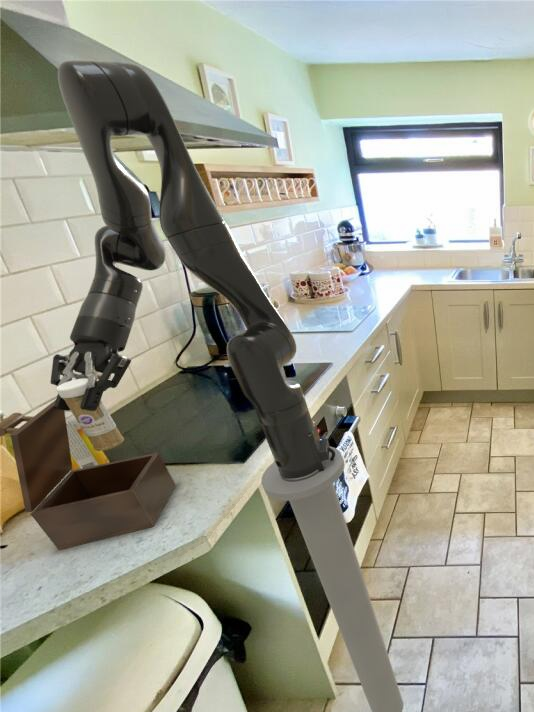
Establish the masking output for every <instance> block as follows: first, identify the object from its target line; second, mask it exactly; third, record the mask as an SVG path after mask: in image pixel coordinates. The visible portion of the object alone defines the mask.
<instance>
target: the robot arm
mask: <svg viewBox="0 0 534 712" xmlns="http://www.w3.org/2000/svg"><path fill="white" fill-rule="evenodd" d="M58 66H59V67H58V69H57V81H58V82H57V83H58V86H59V91H60V94H61V97H62V101H63V103H64V106H65V109H66V111H67V114H68V116H69V120H70V122H71V124H72V127H73V129H74V132H75V135H76V137H77V140H78V143H79V145H80V148H81V149H82V152H83V155H84V157H85V160H86V162H87V164H88V167H89V169H90V172H91V175H92V177H93V179H94V183H95V188H96V192H97V197H98V204H99V210H100V215H101V218H102V221H103V222H104V224H105V225H103V226H101V227H100V228H99V229H98V230H97V231H96V232H95V235H94V252H95V269H94V276H93V279H92V282H91V284H90V287H89V290H88V292H87V295H86V297H85V299H84V301H82V304H81V306H80V309H79V311H78V314H77V316H76V319H75V322H74V325H73V328H72V330H71V332H70V335H69V339H70V341H71V342H72V343H73V344H74V346H73V348H72V349H71V351H70V352H69V353H68V354H66V355H62V354H58V353H55V355H54V356H53V358H52V367H51V375H50V382H49V383H50V384H51V385H54V386H56V387H58V386H59V385H61V384H63V383H66V382H68V381H72V380H73V379H74V380H76V379H82V378H87V379H88V387H89V388H86V390H85V393H84V396H83V399H82V402H81V405H80V408H81V409H83V410H88V411H95V410H96V409H97V407H98V406H99V403H100V400H101V401H102V397H103V394H104V392H106V391H107V390H108V389H110V388H111V389H116V388H117V387H118V385H119V384H120V382H121V380H122V378H123V377H124V375H125V374H126V371H127V370H128V368H129V367H130V364H131V363H132V359H131V358H130V357H128V356H125V355H122V354H119V353H121V352H123V351H125V349H126V346H127V344H128V340H129V337H130V334H131V331H132V328H133V325H134V321H135V319H136V311H137V308H138V304H139V301H140V299H141V296H142V295H141V294H142V291H143V287H144V286H143V285H144V284H143V282H142V280H141V279H140V278H138V277H137V276H136V275H134V274H131V273H130V272H127V271H125V270H123V269H120V268H118V267H117V266H116V264H120V265H124V266H128V267H132V268H134V269H138V270H144V271H150V272H151V271H156V270H158V269H160V268H161V267H162V266H163V265H164V263H165V261H166V255H167V254H166V249H165V245H164V242H163V240H162V239H161V236H160V235H159V233H158V231H157V229H156V227H155V225H154V222H153V220H152V206H151V199H150V195H149V194H150V193H149V191H148V190H147V188H146V185H145V184H144V182H143V181H142V180H141V179H140V178H139V177H138V176H137V174H136V173H134V171H133V170H131V168H129V167H128V166H127V165H126V164H125V163H124V162H123V161H122V160H121V159H120V158H119V157H118V156H117V154H116V153H115V151H114V149H113V146H112V137H126V136H127V137H129V136H141V135H142V136H143V135H145V136H146V137H147V139H148V141H149V143H150V145H151V146H152V149H153V151H154V153H155V155H156V158H157V162H158V164H159V168H160V177H161V180H160V181H161V184H160V195H159V214H158V215H159V216H158V217H159V224H160V228H161V231H162V233H163V234H164V236H165V237H166V239H167V241H168V242H169V244H170V245H171V247H172V249H173V250H174V252H175V254H176V256H177V257H178V259H179V260H180V261H181V263H182V265H183V266H184V267H185V268H186V269H187V270H188V272H190V273H191V274H192V275H194V277H196V278H197V279H198V280H200V281H201V282H202V283H203V284H205V285H207V286H208V287H209V288H210V289H212V290H213V291H215V292H216V293H217V294H219V295H220V296H222V297H223V298H224V299H225V300H226V301H227V302H228V303H229V304H230V305H231V307H233V309H234V310H235V312H236V313H237V315H238V316H239V319H240V320H241V321H242V323H243V325H244V327H245V330H243V331H241V332H239V333H237V334H236V335H234V336H232V337H231V338H230V339H229V341H228V342H227V345H226V356H227V360H228V363H229V364H230V367H231V370H232V372H233V374H234V376H235V378H236V380H237V382H238V384H239V387H240V389H241V391H242V393H243V395H244V396H245V397H246V399H247V400H248V401H249V402H250V403H251V404H252V406H253V408H254V410H255V413H256V417H257V419H258V421H259V424H260V427H261V429H262V431H263V434H264V436H265V439H266V442H267V445H268V447H269V449H270V452H271V454H272V460H273V462H275V464H276V466H277V468H278V470H279V474H280V476H281V478H282V479H283V480H286V481H300V480H304V479H307V478H310V477H312V476H314V475H315V474H317V473H318V472H321V471H324V470H325V460H328V459H329V452H331V453H332V456H331V458H330V460H331V461H333V460H334V457H335V452H334V450H333V449H331V448H330V447H331V446H330V442H329V439H328V438H322V439H321V436H320V433H319V431H318V428H317V425H316V422H315V421H313V420H312V417H311V414H310V410H309V407H308V404H307V402H306V397H305V395H304V391H303V388H302V386H301V385H300V383H298V382H297V381H295V380H285V379H284V376H283V375H282V372H281V370H280V369H282V368H283V367H284V366H286V365H287V364H288V363H290V361H292V360H293V359H294V357H295V356H296V354H297V344H296V340H295V337H294V335H293V333H292V332H291V330H290V328H289V327H288V325H287V324H286V322H285V320H284V319H283V317H282V316H281V315H280V314H279V311H278V310H277V309H276V308H275V306H274V305H273V303H272V301H271V300H270V298H269V297H268V296H267V294H266V292H265V291H264V289H263V287H262V285H261V284H260V282H259V280H258V278H257V277H256V275H255V273H254V271H253V270H252V268H251V266H250V265H249V263H248V262H247V259H246V257H245V256H244V254H243V251H242V250H241V248H240V246H239V243H238V242H237V240H236V238H235V236H234V234H233V233H232V231H231V228H230V227H229V225H228V223H227V222H226V220H225V218H224V217H223V214H222V213H221V212H220V209H219V208H218V206H217V204H216V203H215V201H214V200H213V197H212V196H211V194H210V192H209V190H208V188H207V186H206V184H205V183H204V181H203V179H202V177H201V175H200V173H199V171H198V170H197V168H196V165H195V163H194V161H193V159H192V157H191V155H190V152H189V150H188V148H187V146H186V143H185V142H184V139H183V137H182V134H181V133H180V130H179V128H178V126H177V124H176V121H175V118H174V117H173V115H172V113H171V111H170V108H169V107H168V103H166V100H165V99H164V96H163V95H162V92H161V91H160V89H159V88H158V86H157V85H156V83H155V82H154V80H153V79H152V78H151V76H150V75H149V74H148V73H147V72H146V71H145V70H144V68H141V67H140V66H138V65H137V64H133V63H129V62H116V61H113V62H112V61H95V60H94V61H92V60H66V61H63V62H61V63H60V64H59V65H58ZM112 374H113V376H112ZM61 376H62V377H61ZM55 400H56V401H55ZM55 400H54V401H55V405H54V408H55V409H59V410H64V411H69V410H70V408H69V407H68V405H67V403H66V402H65V400H64V399H63V398H61V397H60V395H59V393H58V392H57V395H56V398H55Z"/></svg>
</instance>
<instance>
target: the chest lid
mask: <svg viewBox="0 0 534 712" xmlns="http://www.w3.org/2000/svg"><path fill="white" fill-rule="evenodd" d="M55 401H56V399H55V400H53V401H52V402H51V403H50V404H48V405H47V406H45V407H44V408H43V409H42V410H41V411H39V412H38V413H37V414H35V415H34V416H31V415H30V416H29V415H28V416H27V415H24V414H23V413H21V412H13V413H11V414H10V415H9V416H7V417H6V418H4V419H2V421H0V437H4V436H6V435H7V434H8V435H9V434H10V440H11V445H12V449H13V454H14V460H15V464H16V470H17V474H18V480H19V486H20V490H21V495H22V500H23V506H24V510H25V513H32V512H33V511H34V510H35V509H36V508H37V507H38V506H39V505H40V504H41V503H42V502H43V500H44V499H45V498H46V497H47V496H48V495H49V494H50V493H51V492H52V491H53V490H54V489H55V488H56V487H57V485H58V484H59V483H60V482H61V481H62V480H63V479H64V478H65V477H66V476H67V475H68V474H69V473H70V471H71V470H72V469H73V468H72V461H71V454H70V447H69V440H68V433H67V426H66V419H65V411H64V410H59V409H55V408H54V405H55ZM24 422H25V423H24ZM22 423H23V424H22ZM20 424H22V425H21V426H19V425H20ZM17 426H19V427H17Z"/></svg>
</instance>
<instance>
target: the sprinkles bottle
mask: <svg viewBox="0 0 534 712" xmlns="http://www.w3.org/2000/svg"><path fill="white" fill-rule="evenodd" d="M75 379H76V378H75ZM75 379H72V381H68V382H66V383H63V384H61V385H59V386H56V391H57V394H58V393H59V395H60V397H61V398H63V399H64V400H65V402H66V403H67V405H68V407H69V408H70V410H71V411H72V413H73V415H74V416H75V418H76V420H77V422H78V424H79V425H80V427H81V429H82V430H83V432H84V433H85V435H86V436H87V437H88V439H89V440H90V442H91V443H92V445H93V448H94V449H95V450H96V451H103V452H104V451H107V450H111V449H114V448H116V447H118V446H119V445H121V444H122V443H123V442H124V441H125V437H124V435H122V433H121V432H120V430H119V428H118V426H117V424H116V422H115V421H114V418H112V416H111V413H110V412H109V411H108V409H107V408H106V405H105V404H104V402H103V401H102V399H101V400H100V403H99V406H98V407H97V409H96V410H95V411H88V410H83V409H81V408H80V405H81V402H82V399H83V396H84V393H85V390H86V388H89V387H88V379H87V378H82V379H76V380H75Z"/></svg>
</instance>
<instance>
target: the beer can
mask: <svg viewBox="0 0 534 712" xmlns="http://www.w3.org/2000/svg"><path fill="white" fill-rule="evenodd" d="M65 419H66V426H67V433H68V440H69V447H70V454H71V461H72V468H73V469H72V470H77V469H81V468H86V467H91V466H96V465H101V464H106V463H110V462H111V461H110V460H109V458H108V457H107V455H106V454H105V452H104V451H96V450H95V449H94V448H93V445H92V443H91V442H90V440H89V439H88V437H87V436H86V435H85V433H84V432H83V430H82V429H81V427H80V425H79V424H78V422H77V420H76V418H75V416H74V415H73V413H72V411H71V410H69V411H65ZM72 470H71V471H72Z"/></svg>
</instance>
